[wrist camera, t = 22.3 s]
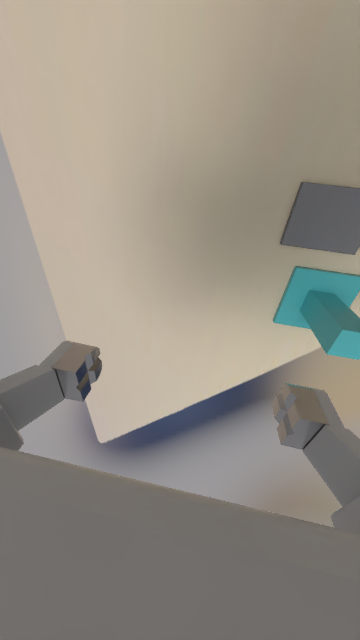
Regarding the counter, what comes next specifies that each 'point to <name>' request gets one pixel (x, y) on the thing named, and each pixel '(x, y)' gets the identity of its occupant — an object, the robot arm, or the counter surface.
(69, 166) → the counter surface
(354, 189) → the charcoal pad
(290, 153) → the counter surface
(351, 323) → the teal column
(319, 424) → the robot arm
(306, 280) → the teal pad
